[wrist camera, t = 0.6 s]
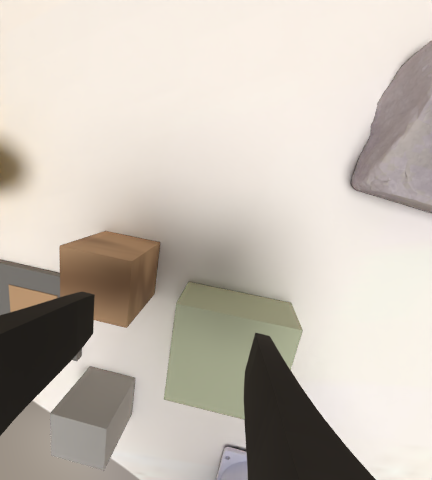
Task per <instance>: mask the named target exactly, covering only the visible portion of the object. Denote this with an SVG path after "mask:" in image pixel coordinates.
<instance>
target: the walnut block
mask: <svg viewBox="0 0 432 480" xmlns="http://www.w3.org/2000/svg"><path fill="white" fill-rule="evenodd" d="M159 249H160V242H156V241H152V240H147V239H142V238H137V237H132V236H127V235H122V234H118V233H113V232H108V231H104V232H101V233H98V234H95V235H92V236H88V237H85V238H82V239H79V240H76V241H73V242H70V243H67V244H64V245H61V246H60V297H63V296H66V295H70V294H73V293H77V292H86V293H91V294H95V298H94V320H96V321H100V322H105V323H109V324H113V325H117V326H121V327H126V328H127V327H128V326H129V324H130V323H131V322H132V321H133V320H134V318H135V317H136V316H137V315H138V313H139V312H140V311H141V310H142V309H143V307H144V306H145V305H146V304H147V303H148V301H149V300H150V299H151V298H152V296H153V295H154V293H155V284H156V276H157V267H158V258H159Z"/></svg>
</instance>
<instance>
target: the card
mask: <svg viewBox="0 0 432 480" xmlns="http://www.w3.org/2000/svg"><path fill="white" fill-rule="evenodd" d="M59 297H60V273H57V272H52V271H48V270H43V269H39V268H35V267H30V266H26V265H21V264H17V263H12V262H8V261H3V260H0V315H3V314H6V313H10V312H13V311H17V310H20V309H24V308H27V307H30V306H33V305H37V304H40V303H43V302H46V301H50V300H53V299H56V298H59ZM80 357H81V350H80V351H79V352H78V354H77V355H76V356H75V357H74V358H73V359H72V360H74V361H78V359H79V358H80Z"/></svg>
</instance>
